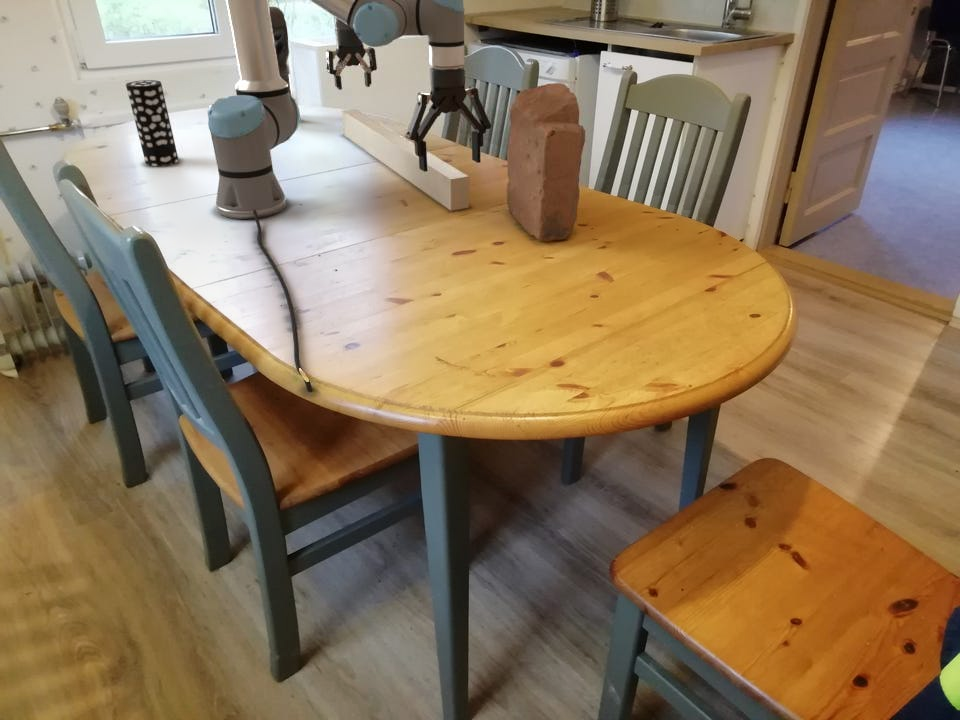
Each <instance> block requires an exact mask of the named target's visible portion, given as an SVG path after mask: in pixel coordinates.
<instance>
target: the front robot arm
mask: <svg viewBox="0 0 960 720" xmlns="http://www.w3.org/2000/svg"><path fill="white" fill-rule="evenodd" d="M225 1H226V7H227V11H228V17H229V22H230V27H231V33H232V38H233V45H234V48H235V55H236V61H237V67H238V72H239V76H240V77H239V78H240V79H239V81H238V82H237V83H236V84H235V86H234V87H235V89H234V90H235V94H236V95H229V96H227V97H221V98H222V99H220V98H218V99H219V100H218V99H216V100H217V101H216V100H215V101H214V102H212V103H211V104H210V105H209V107H208V109H207V118H208V120H207V121H208V123H207V124H208V129H209V131H210V132H209V133H210V136H211V142H212V147H213V151H214V156H215V161H216V166H217V169H218V170H217V172H218V185H217V193H216V201H215V206H216V210H217V213H218V214H219V215H221V216H223V217H225V218H229V219H236V220H253V219H254V221H255V223H256V227H257V237H256V240H257V244H258V246H259V248H260V250H261V251H262V253H263V254H264V256H265V257H266V259H267V261H268V263H269V264H270V266H271V267H272V269H273V271H274V273H275V275H276V276H277V279H278V281H279V282H280V286H281V288H282V290H283V293H284V296H285V299H286V302H287V305H288V310H289V316H290V321H291V330H292V339H293V358H294V364H295V368H296V370H297V372H298V374H299V376H301V374H300V372H299V368H301V369H302V370H303V371H304V369H303V367H302V365H301V360H300V344H299V343H300V342H299V338H298V337H299V335H298V327H297V326H298V325H297V320H296V315H295V310H294V306H293V302H292V299H291V296H290V292H289V290H288V287H287V285H286V283H285V281H284V278H283V275H282V274H281V272H280V271H279V268H278V267H277V265H276V263H275V261H274V260H273V259H272V257H271V255H270V254H269V252H268V251H267V249H266V248H265V246H264V244H263V243H262V225H261V223H260V218H261V219H262V218H265V217H266V218H267V217H270V216H274V215H276V214H278V213H280V212H282V211H283V210H285V209H286V207H287V199H286V194H285V193H284V191H283V189H282V187H281V184H280V182H279V180H278V179H277V177H276V175H275V172H274V167H273V160H272V154H271V151H272V150H273V149H275V148H277V147H278V146H279V145H281V144H284V143H286V142H287V141H289V139H290V138H291V137H292V136H293V135H294V134H295V133H296V132H297V130H298V128H299V125H300V121H301V112H300V107H299V105H298V103H297V101H296V99H295V98H294V97H293V98H292V96H291V95H290V94H289V89H288V84H287V82H285V81H284V80H283V79H282V78H281V77H280V75H279V68H278V62H277V55H276V49H275V43H274V36H273V30H272V23H271V17H270V10H269V7H270V5H269V4H270V3H269V4H268V0H225ZM309 1H310V2H312V3H314V5H316V6H318V7H320V8H321V9H322V10H324V11H326V12H327V13H328V14H330V15H332V16H333V17H334V16H335V17H336V18H338V19H339V20H341V21H342V22H344V23H345V24H347V25H348V26H350V27H351V28H353V29H354V30H355V32H356V34H357V36H358V38H359V39H360V40H361V41H362V42H363V45H366V46H368V47H371V48H378V47H384V46H388V45H390V44H391V43H392V42H393V41H396V40H397V39H400V38H402V37H404V36H405V37H406V36H408V37H409V36H414V37H415V36H421V37H423V36H425V37H426V36H427V39H428V54H429V55H428V58H429V65H430V66H431V67H430V69H429V82H430V92H429V93H423V92H418V93H417V95H416V105H415V108H414V110H413V113H412V116H411V118H410V121H409V124H408V127H407V130H406V133H405V138H406V139H407V140H409V141H412V142H413V143H414V144H415V154H416V155H417V156H418V157H419V169H421V170H422V171H424V172H426V171H427V152H428V150H427V141H425V140H424V139H425V138H426V136H427V134H428V133H429V131H430V130H431V128H432V126H433V125H434V123H436V120H437V119H438V117H440V116H441V114H448V113H457V112H458V111H459V112H460V114H461V115H462V116H463V117H464V118H465V120H466V121H467V122H468V123H469V125H471V127H472V128H473V129H474V131H471V160H472V161H473V162H475V163H477V164H479V163H481V148H482V147H484V134H486V132H487V130H490V129H491V128H492V124H491V122H490V120H489V117H488V115H487V113H486V111H485V109H484V106H483V104H482V102H481V100H480V95H479V89H478V88H477V87H474V86H472V85H471V86H469V87H468V88H466V87H465V86H466V68H465V67H464V65H465V64H466V55H465V50H466V49H465V8H464V0H309ZM466 98H468V99H469V101H470V103H471V105H472V108H473V110H474V112H475V114H476V116H477V118H476V117H475V116H474V114H473V112H471V111H470V109H469V107H468V106H467V105H466V104H465V102H464V101H465V99H466ZM430 101H431V102H432V104H431V106H430V107H429V109H428V112H427V114H426V115H425V112H426V110H427V107H428V106H427V105H428V104H429V103H430ZM424 115H425V117H424ZM423 118H424V119H423ZM303 382H304V384H305V388H306V390H307V393H312V392H314V391H313V386H312V383H311V380H310V379H309V382H306V381H305V380H304V379H303Z"/></svg>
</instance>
